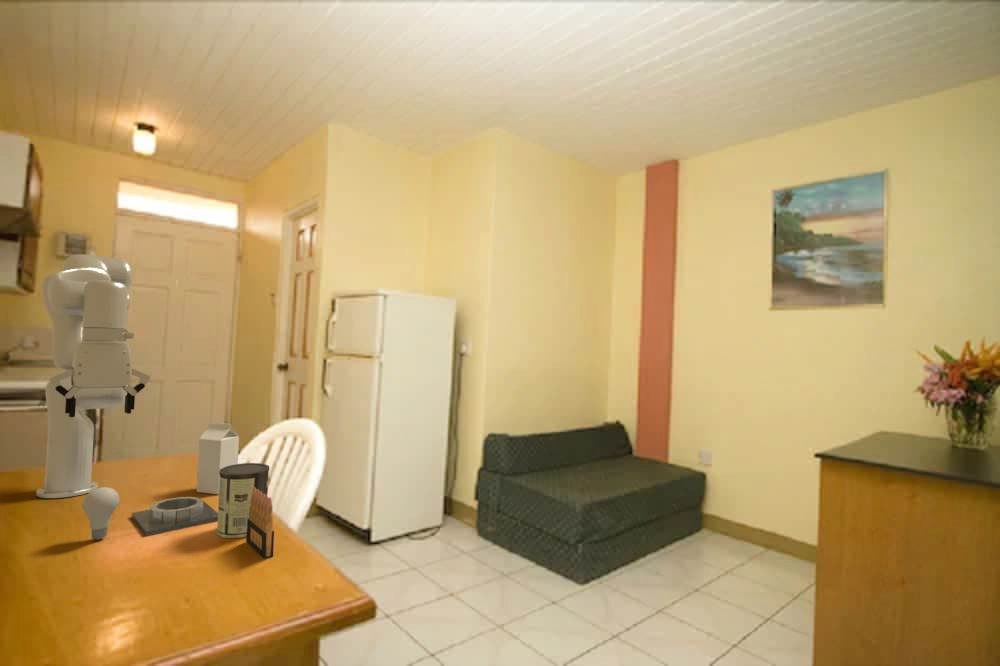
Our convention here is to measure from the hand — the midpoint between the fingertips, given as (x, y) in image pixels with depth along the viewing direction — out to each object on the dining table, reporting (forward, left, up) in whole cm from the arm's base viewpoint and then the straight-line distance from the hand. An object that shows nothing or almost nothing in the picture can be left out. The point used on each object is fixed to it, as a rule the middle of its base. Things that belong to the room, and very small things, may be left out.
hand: (100, 414), depth 108 cm
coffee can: (+18, +24, -26) cm, 40 cm away
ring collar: (+1, +15, -26) cm, 30 cm away
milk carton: (-16, +29, -26) cm, 43 cm away
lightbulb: (+5, 0, -26) cm, 27 cm away
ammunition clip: (+31, +23, -26) cm, 47 cm away
